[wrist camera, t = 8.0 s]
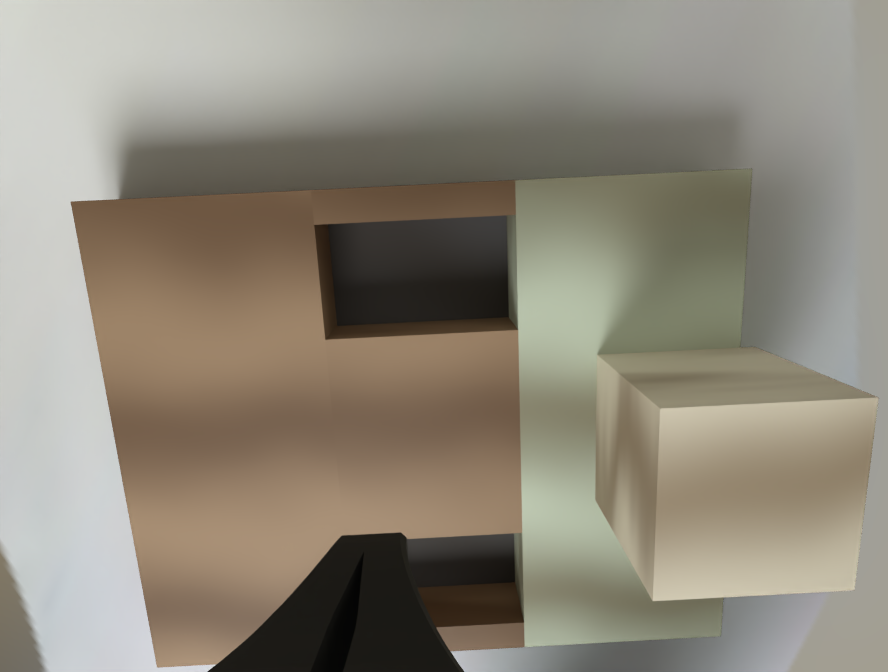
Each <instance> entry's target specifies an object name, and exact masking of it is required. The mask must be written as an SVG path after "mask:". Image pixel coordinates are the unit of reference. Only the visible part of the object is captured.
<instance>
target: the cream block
mask: <svg viewBox="0 0 888 672" xmlns="http://www.w3.org/2000/svg"><path fill="white" fill-rule="evenodd" d="M877 406H878V397H876V396H873V395H871V394H869V393H866V392H864V391H861V390H859V389H856V388H854V387H852V386H849V385H847V384H844V383H842V382H839V381H837V380H835V379H832V378H830V377H827V376H825V375H822V374H820V373H817V372H815V371H813V370H810V369H808V368H805V367H803V366H800V365H798V364H796V363H793V362H791V361H788V360H786V359H783V358H781V357H778V356H776V355H774V354H771V353H769V352H766V351H764V350H761V349H759V348H757V347H742V348H722V349H701V350H681V351H661V352H641V353H621V354H600V355H597V394H596V473H595V500H596V502H597V504H598V506H599V507H600V509H601V511H602V513H603V514H604V516H605V518H606V520H607V522H608V523H609V525H610V527H611V529H612V530H613V532H614V534H615V536H616V537H617V539H618V541H619V543H620V544H621V546H622V548H623V550H624V551H625V553H626V555H627V557H628V558H629V560H630V562H631V564H632V566H633V567H634V569H635V571H636V573H637V574H638V576H639V578H640V580H641V581H642V583H643V585H644V587H645V588H646V590H647V592H648V594H649V595H650V597H651V599H652V601H666V600H685V599H704V598H723V597H741V596H760V595H779V594H798V593H816V592H835V591H854V590H855V582H856V574H857V566H858V558H859V550H860V541H861V534H862V526H863V518H864V510H865V502H866V494H867V486H868V478H869V470H870V462H871V454H872V446H873V439H874V430H875V423H876V414H877Z"/></svg>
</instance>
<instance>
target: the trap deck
mask: <svg viewBox="0 0 888 672" xmlns="http://www.w3.org/2000/svg"><path fill="white" fill-rule="evenodd" d="M751 180H752V169H732V170H712V171H691V172H670V173H650V174H629V175H609V176H588V177H568V178H547V179H527V180H506V181H486V182H465V183H445V184H424V185H404V186H383V187H363V188H342V189H322V190H301V191H281V192H260V193H240V194H219V195H199V196H178V197H157V198H137V199H116V200H96V201H75V202H71V206H72V211H73V216H74V222H75V227H76V233H77V238H78V243H79V249H80V254H81V260H82V265H83V270H84V276H85V281H86V286H87V292H88V297H89V303H90V308H91V313H92V319H93V324H94V330H95V335H96V340H97V346H98V351H99V357H100V362H101V367H102V373H103V378H104V384H105V389H106V394H107V400H108V405H109V410H110V416H111V421H112V427H113V432H114V437H115V443H116V448H117V454H118V459H119V464H120V470H121V475H122V481H123V486H124V491H125V497H126V502H127V508H128V513H129V518H130V524H131V529H132V534H133V540H134V545H135V551H136V556H137V561H138V567H139V572H140V578H141V583H142V588H143V594H144V599H145V605H146V610H147V615H148V621H149V626H150V632H151V637H152V642H153V648H154V653H155V659H156V664H157V667H174V666H192V665H210V664H218V663H219V662H220V661H221V660H223V659H224V658H225V657H226V656H227V655H229V654H230V653H231V652H232V651H233V650H235V649H236V648H237V647H238V646H239V645H240V644H242V643H243V642H244V641H245V640H246V639H247V638H248V637H249V636H251V635H252V634H253V633H254V632H255V631H256V630H257V629H258V628H259V627H260V626H261V625H262V624H263V623H264V622H265V621H266V620H267V619H268V618H269V617H270V616H271V615H272V614H273V613H274V612H275V611H276V610H277V609H278V608H279V607H280V606H281V605H282V604H283V603H284V602H285V600H286V599H287V598H288V597H289V596H290V595H291V594H292V593H293V592H294V590H295V589H296V588H297V587H298V586H299V585H300V584H301V583H302V581H303V580H304V579H305V578H306V577H307V576H308V575H309V573H310V572H311V571H312V570H313V569H314V568H315V566H316V565H317V564H318V563H319V562H320V560H321V559H322V558H323V557H324V555H325V554H326V553H327V552H328V551H329V549H330V548H331V547H332V546H333V545H334V543H335V542H336V541H337V540H338V539H339V538H340V537H341V536H342V535H361V534H380V533H399V532H401V533H402V534H403V535H405V536H406V537H407V549H408V560H409V564H410V568H411V571H412V574H413V577H414V580H415V582H416V585H417V588H418V590H419V593H420V595H421V598H422V600H423V602H424V604H425V607H426V609H427V611H428V613H429V615H430V617H431V619H432V621H433V623H434V625H435V626H436V628H437V630H438V632H439V634H440V635H441V637H442V639H443V641H444V642H445V644H446V645H447V647H448V649H449V650H450V651H463V650H481V649H499V648H517V647H535V646H553V645H571V644H589V643H607V642H625V641H644V640H662V639H680V638H698V637H716V636H721V627H722V613H723V598H724V597H723V598H704V599H685V600H666V601H652V599H651V597H650V595H649V594H648V592H647V590H646V588H645V587H644V585H643V583H642V581H641V580H640V578H639V576H638V574H637V573H636V571H635V569H634V567H633V566H632V564H631V562H630V560H629V558H628V557H627V555H626V553H625V551H624V550H623V548H622V546H621V544H620V543H619V541H618V539H617V537H616V536H615V534H614V532H613V530H612V529H611V527H610V525H609V523H608V522H607V520H606V518H605V516H604V514H603V513H602V511H601V509H600V507H599V506H598V504H597V502H596V500H595V473H596V394H597V355H600V354H621V353H641V352H661V351H681V350H701V349H722V348H740V344H741V329H742V314H743V299H744V285H745V270H746V255H747V240H748V225H749V210H750V195H751Z"/></svg>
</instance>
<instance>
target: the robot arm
mask: <svg viewBox="0 0 888 672" xmlns="http://www.w3.org/2000/svg"><path fill="white" fill-rule="evenodd" d="M208 672H464V671H463V669H462V668H461V667H460V665H459V664H458V662H457V661H456V659H455V658H454V656H453V655H452V653H451V652H450V650H449V649H448V647H447V645H446V644H445V642H444V641H443V639H442V637H441V635H440V634H439V632H438V630H437V628H436V626H435V625H434V623H433V621H432V619H431V617H430V615H429V613H428V611H427V609H426V607H425V604H424V602H423V600H422V598H421V595H420V593H419V590H418V588H417V585H416V582H415V580H414V577H413V574H412V571H411V568H410V564H409V560H408V549H407V537H406V536H405V535H403V534H402V533H401V532H399V533H380V534H361V535H342V536H341V537H340V538H339V539H338V540H337V541H336V542H335V543H334V545H333V546H332V547H331V548H330V549H329V551H328V552H327V553H326V554H325V555H324V557H323V558H322V559H321V560H320V562H319V563H318V564H317V565H316V566H315V568H314V569H313V570H312V571H311V572H310V573H309V575H308V576H307V577H306V578H305V579H304V580H303V581H302V583H301V584H300V585H299V586H298V587H297V588H296V589H295V590H294V592H293V593H292V594H291V595H290V596H289V597H288V598H287V599H286V600H285V602H284V603H283V604H282V605H281V606H280V607H279V608H278V609H277V610H276V611H275V612H274V613H273V614H272V615H271V616H270V617H269V618H268V619H267V620H266V621H265V622H264V623H263V624H262V625H261V626H260V627H259V628H258V629H257V630H256V631H255V632H254V633H253V634H252V635H251V636H249V637H248V638H247V639H246V640H245V641H244V642H243V643H242V644H240V645H239V646H238V647H237V648H236V649H235V650H233V651H232V652H231V653H230V654H229V655H227V656H226V657H225V658H224V659H223V660H221V661H220V662H219V663H218V664H217V665H215V666H214V667H213V668H212V669H210V670H209V671H208Z"/></svg>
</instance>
